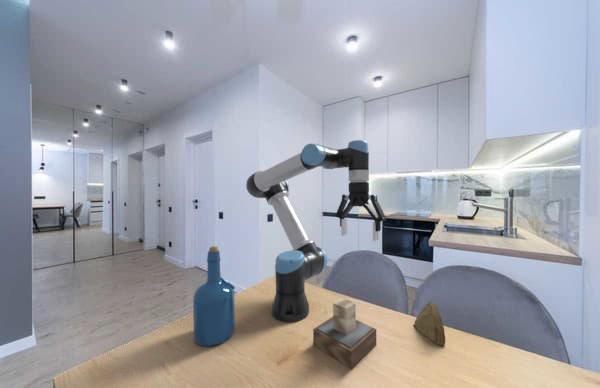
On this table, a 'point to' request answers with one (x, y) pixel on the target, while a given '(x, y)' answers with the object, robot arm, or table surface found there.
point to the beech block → (344, 316)
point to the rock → (431, 324)
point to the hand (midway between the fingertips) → (359, 237)
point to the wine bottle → (213, 305)
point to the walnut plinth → (345, 342)
